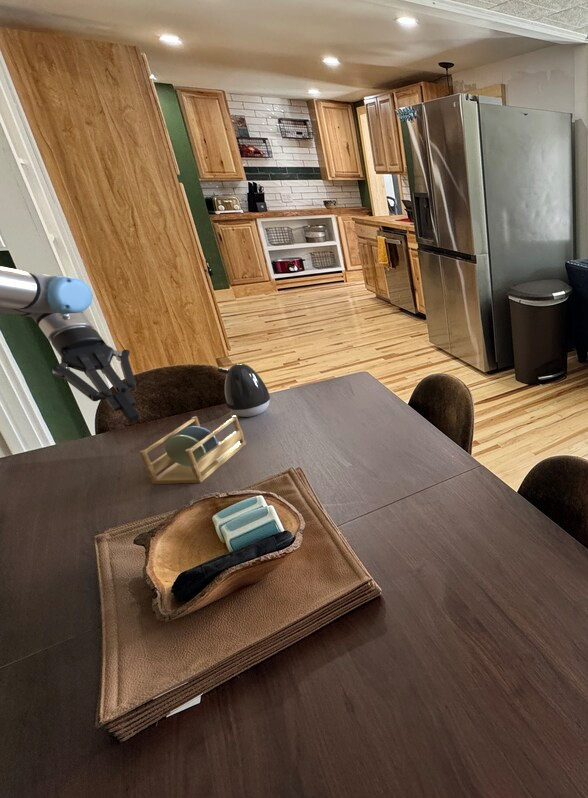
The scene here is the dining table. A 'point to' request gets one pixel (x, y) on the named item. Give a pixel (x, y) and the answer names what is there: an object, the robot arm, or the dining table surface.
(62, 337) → the robot arm
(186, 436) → the dish rack
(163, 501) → the dining table surface
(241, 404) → the pump dispenser
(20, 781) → the dining table surface
